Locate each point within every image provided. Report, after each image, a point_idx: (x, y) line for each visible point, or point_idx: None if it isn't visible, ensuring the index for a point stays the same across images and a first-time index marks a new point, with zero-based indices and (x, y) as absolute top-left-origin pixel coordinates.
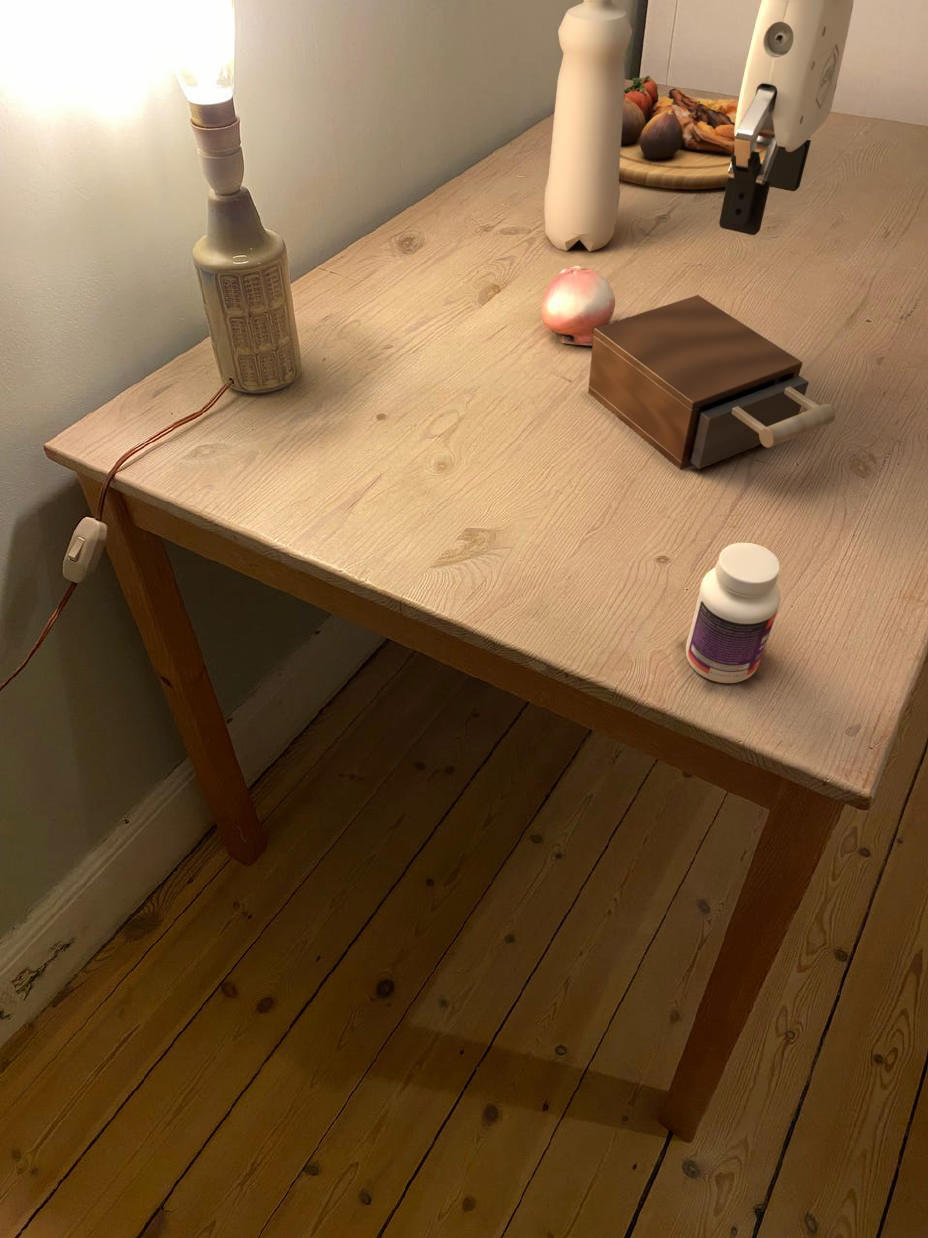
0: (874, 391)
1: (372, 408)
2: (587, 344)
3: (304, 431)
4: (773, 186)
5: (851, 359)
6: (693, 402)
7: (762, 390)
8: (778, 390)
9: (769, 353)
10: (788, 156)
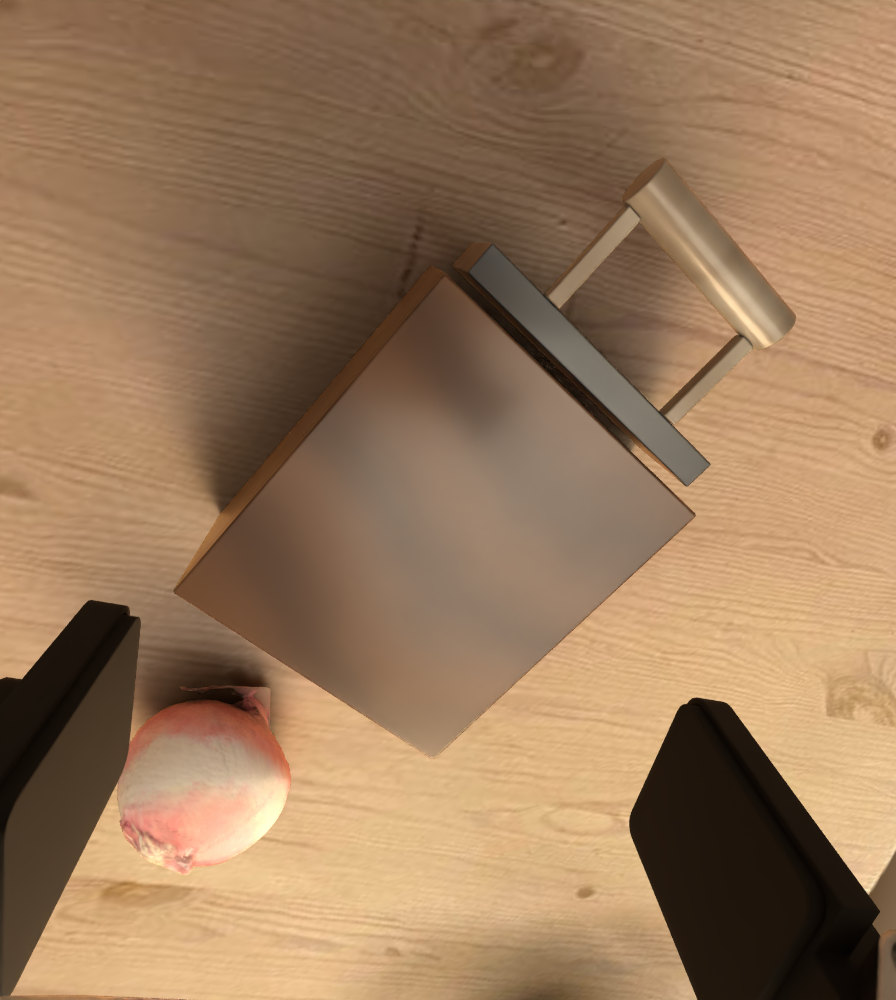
0: (173, 20)
1: (566, 909)
2: (269, 704)
3: (641, 952)
4: (131, 709)
5: (25, 96)
6: (695, 515)
7: (567, 363)
8: (557, 322)
9: (427, 371)
10: (55, 809)
